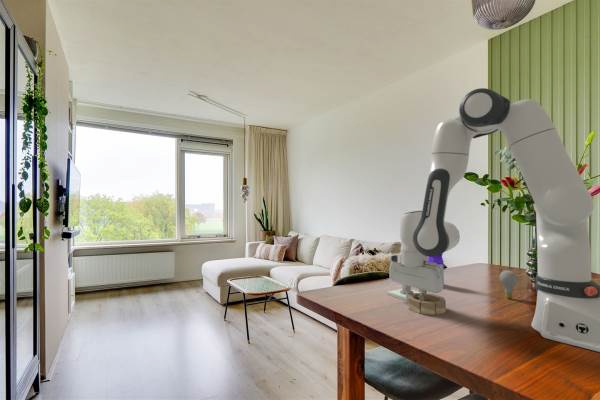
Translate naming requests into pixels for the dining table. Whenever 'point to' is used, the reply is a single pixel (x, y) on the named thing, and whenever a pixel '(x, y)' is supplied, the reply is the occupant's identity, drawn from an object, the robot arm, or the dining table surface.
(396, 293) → the square peg stand
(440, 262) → the bottle
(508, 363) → the dining table surface
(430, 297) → the ring
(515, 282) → the light bulb
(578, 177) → the robot arm
